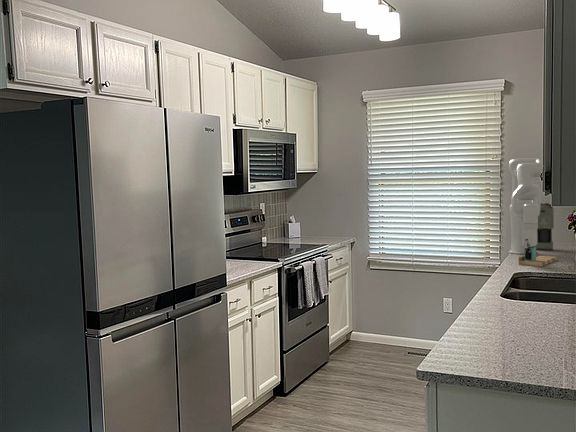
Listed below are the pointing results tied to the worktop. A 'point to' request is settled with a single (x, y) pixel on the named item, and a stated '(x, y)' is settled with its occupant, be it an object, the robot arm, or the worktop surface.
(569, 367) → the worktop surface
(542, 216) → the device
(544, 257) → the board
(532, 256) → the teal upright block
